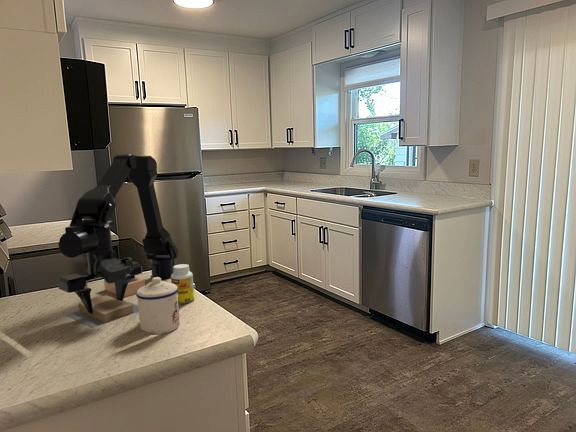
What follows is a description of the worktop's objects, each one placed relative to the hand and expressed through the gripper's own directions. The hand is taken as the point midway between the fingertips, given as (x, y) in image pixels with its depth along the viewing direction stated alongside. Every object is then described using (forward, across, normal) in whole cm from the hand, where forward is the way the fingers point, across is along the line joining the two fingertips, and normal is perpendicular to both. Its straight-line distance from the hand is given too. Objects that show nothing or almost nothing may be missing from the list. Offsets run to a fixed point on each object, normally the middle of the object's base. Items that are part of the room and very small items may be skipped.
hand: (105, 308), depth 105 cm
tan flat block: (+1, 0, 0) cm, 1 cm away
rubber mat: (+2, 0, 0) cm, 2 cm away
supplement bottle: (+2, +16, -10) cm, 19 cm away
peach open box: (+2, +12, +12) cm, 17 cm away
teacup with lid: (+2, +4, -17) cm, 18 cm away
